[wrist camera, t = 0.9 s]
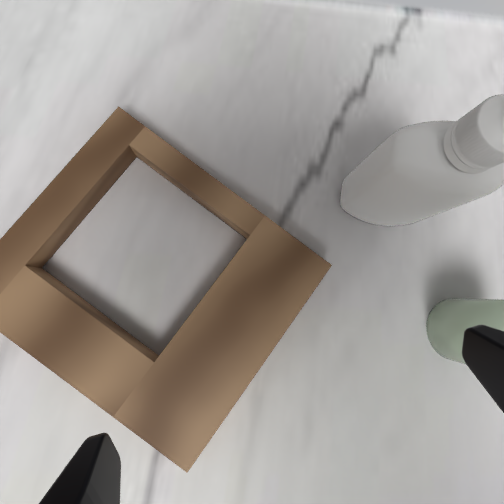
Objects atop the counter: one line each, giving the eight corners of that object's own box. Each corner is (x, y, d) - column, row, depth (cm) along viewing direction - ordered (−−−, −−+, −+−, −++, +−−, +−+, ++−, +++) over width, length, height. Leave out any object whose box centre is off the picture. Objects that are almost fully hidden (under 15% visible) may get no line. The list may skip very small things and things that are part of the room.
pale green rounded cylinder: (494, 322, 23) (569, 330, 18) (464, 372, 22) (534, 395, 17) (446, 286, 23) (508, 284, 18) (415, 336, 22) (470, 348, 17)
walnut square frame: (323, 267, 22) (331, 265, 20) (190, 456, 20) (187, 472, 18) (126, 121, 22) (118, 106, 20) (-26, 295, 20) (-50, 295, 18)
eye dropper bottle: (364, 152, 23) (508, 6, 12) (428, 202, 23) (640, 108, 12) (327, 199, 23) (439, 97, 11) (393, 251, 23) (578, 206, 11)
